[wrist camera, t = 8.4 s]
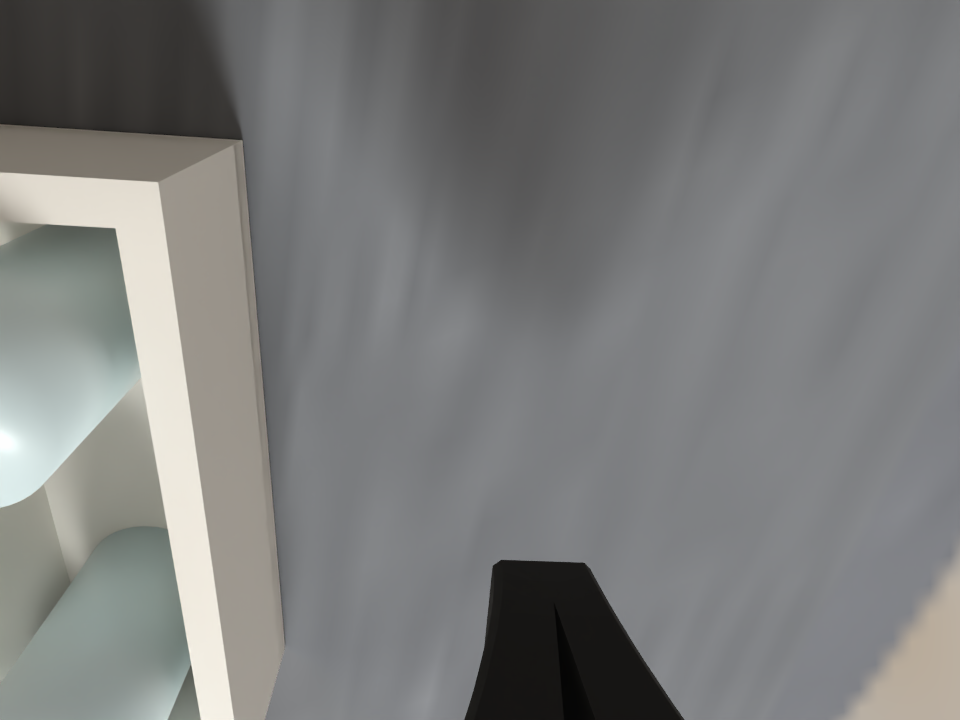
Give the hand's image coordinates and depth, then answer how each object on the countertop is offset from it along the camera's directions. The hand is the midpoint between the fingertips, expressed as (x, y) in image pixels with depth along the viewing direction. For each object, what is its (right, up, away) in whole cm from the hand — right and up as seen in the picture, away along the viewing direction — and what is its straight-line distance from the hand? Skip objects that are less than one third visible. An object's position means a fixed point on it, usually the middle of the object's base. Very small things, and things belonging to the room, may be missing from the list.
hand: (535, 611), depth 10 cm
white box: (-8, +2, +4) cm, 9 cm away
